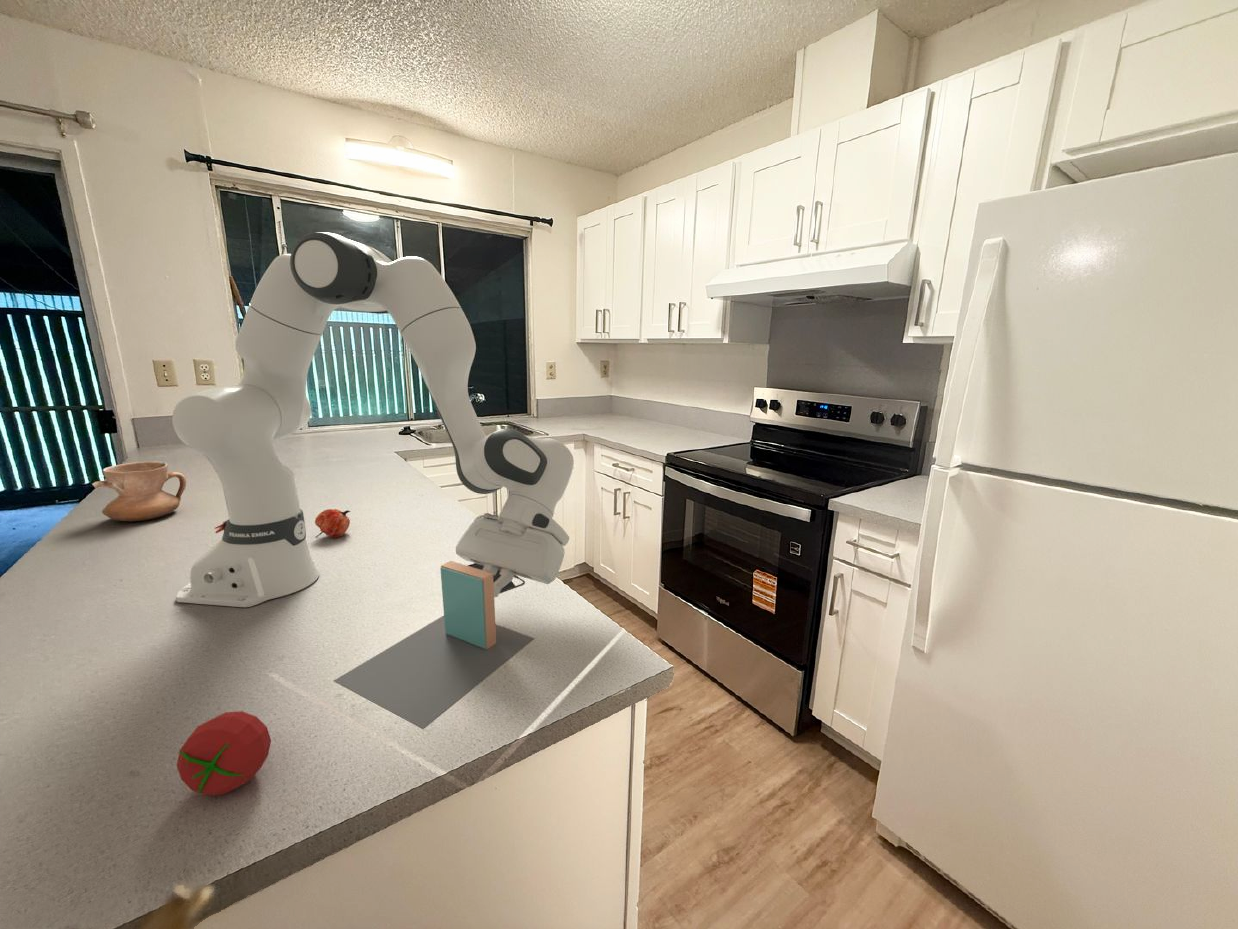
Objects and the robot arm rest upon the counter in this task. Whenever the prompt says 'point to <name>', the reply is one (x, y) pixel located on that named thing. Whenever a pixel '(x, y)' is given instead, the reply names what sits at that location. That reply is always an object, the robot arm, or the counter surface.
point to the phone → (495, 577)
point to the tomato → (223, 753)
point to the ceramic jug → (140, 491)
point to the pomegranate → (332, 522)
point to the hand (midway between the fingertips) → (487, 594)
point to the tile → (468, 604)
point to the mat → (429, 671)
